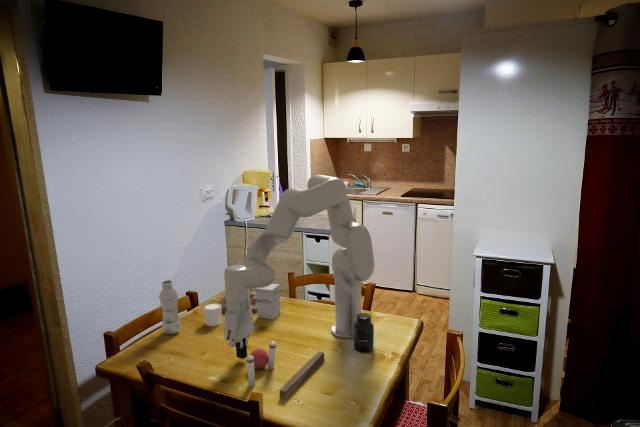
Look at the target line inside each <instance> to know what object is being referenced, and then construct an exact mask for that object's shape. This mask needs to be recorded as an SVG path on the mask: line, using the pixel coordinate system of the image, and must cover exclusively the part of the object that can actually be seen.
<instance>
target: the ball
mask: <svg viewBox="0 0 640 427" xmlns="http://www.w3.org/2000/svg"><path fill="white" fill-rule="evenodd" d="M250 355H253V356H254V369H256V370H257V369H258V370H260V369H263V368H266V366H268V356H269V353H268V352H267V351H266V350H265V349H263V348H256V349H254V350H253V351H251V353H250Z"/></svg>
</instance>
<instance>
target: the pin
mask: <svg viewBox="0 0 640 427" xmlns="http://www.w3.org/2000/svg"><path fill="white" fill-rule="evenodd" d="M268 346H269V347H268V363H267V370H268V371H273V370H274V369H275V359H276V348H277V342H276V341H274V340H271V341H269V344H268Z"/></svg>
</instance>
